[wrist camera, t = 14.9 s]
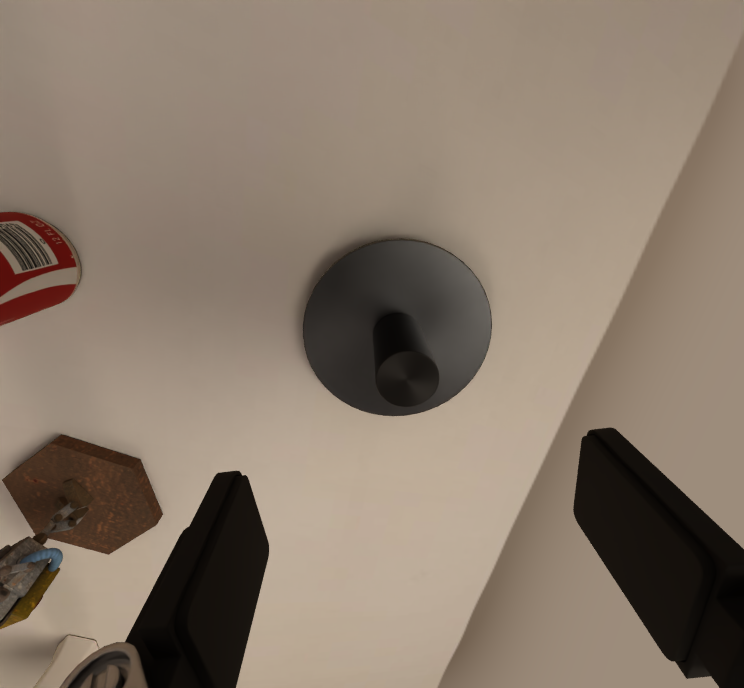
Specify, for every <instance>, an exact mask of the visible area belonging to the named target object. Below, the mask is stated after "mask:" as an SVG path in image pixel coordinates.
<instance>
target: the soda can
mask: <svg viewBox="0 0 744 688" xmlns="http://www.w3.org/2000/svg"><path fill="white" fill-rule="evenodd" d="M80 276H81V266H80V261H79V258H78V255H77V253H76V251H75V249H74V247H73V246H72V244H71V243H70V241H69V240H68V239H67V238H66V237H65V236H64V235H63V234H62V233H61V232H60V231H59V230H58V229H56V228H55V227H54V226H52V225H51V224H49V223H47V222H45V221H43V220H41V219H39V218H37V217H34V216H32V215H29V214H25V213H20V212H1V213H0V326H2V325H4V324H7V323H10V322H12V321H15V320H18V319H20V318H23V317H25V316H28V315H31V314H33V313H36V312H38V311H41V310H44V309H46V308H49V307H52V306H54V305H57V304H59V303H62V302H64V301H65V300H67V299H68V298H69V297H70V296H71V295H72V294H73V293H74V291H75V290H76V288H77V285H78V283H79V280H80Z"/></svg>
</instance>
